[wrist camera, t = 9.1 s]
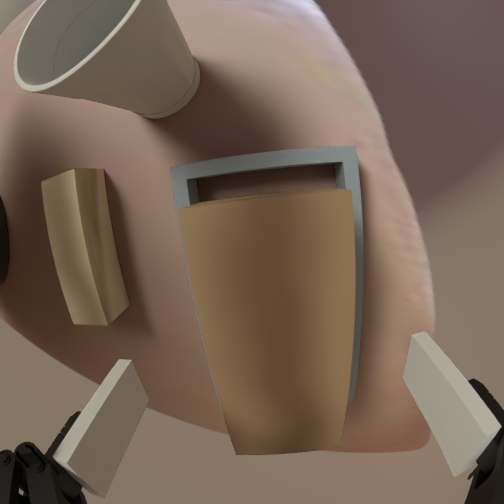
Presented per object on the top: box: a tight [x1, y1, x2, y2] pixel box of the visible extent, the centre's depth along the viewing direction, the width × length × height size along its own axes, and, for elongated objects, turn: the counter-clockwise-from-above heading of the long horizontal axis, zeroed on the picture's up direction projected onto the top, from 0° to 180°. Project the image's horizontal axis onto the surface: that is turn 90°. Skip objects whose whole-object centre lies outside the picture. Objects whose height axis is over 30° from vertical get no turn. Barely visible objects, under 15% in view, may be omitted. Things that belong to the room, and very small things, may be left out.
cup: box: [14, 0, 200, 118], centre depth 12 cm, size 8×8×12 cm
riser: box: [41, 169, 130, 326], centre depth 19 cm, size 4×12×4 cm, turn 7°
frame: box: [170, 146, 364, 413], centre depth 19 cm, size 12×21×5 cm, turn 7°
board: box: [177, 188, 355, 455], centre depth 14 cm, size 7×16×4 cm, turn 7°
